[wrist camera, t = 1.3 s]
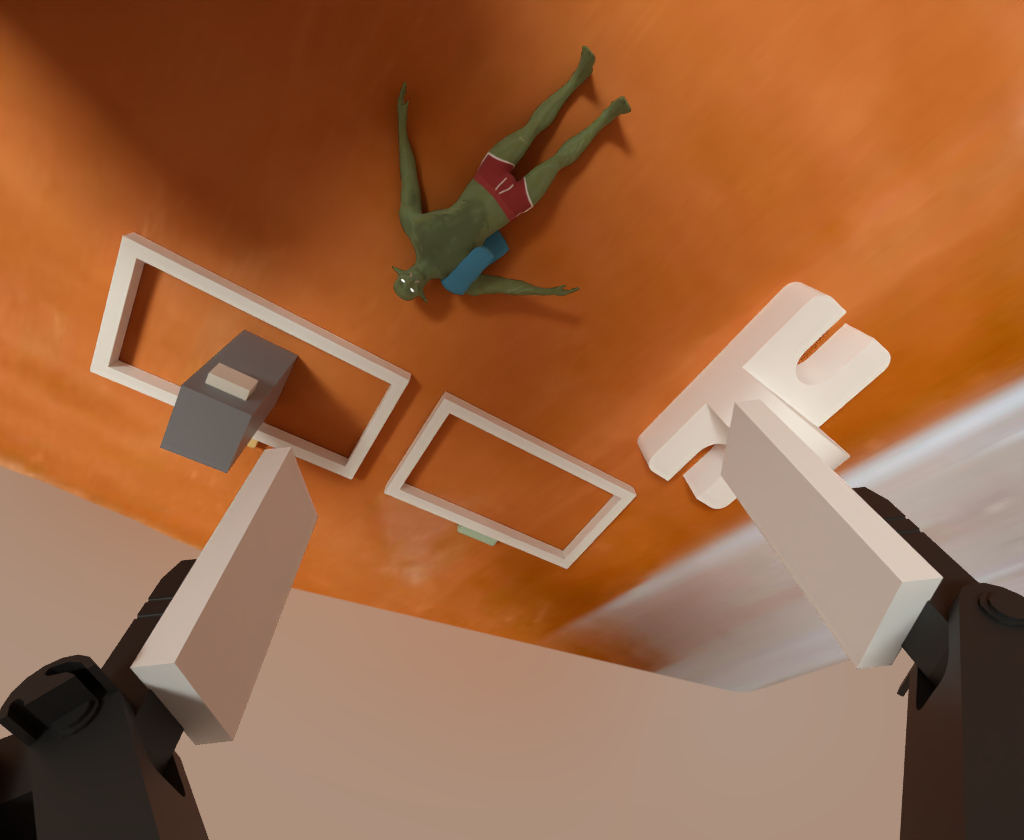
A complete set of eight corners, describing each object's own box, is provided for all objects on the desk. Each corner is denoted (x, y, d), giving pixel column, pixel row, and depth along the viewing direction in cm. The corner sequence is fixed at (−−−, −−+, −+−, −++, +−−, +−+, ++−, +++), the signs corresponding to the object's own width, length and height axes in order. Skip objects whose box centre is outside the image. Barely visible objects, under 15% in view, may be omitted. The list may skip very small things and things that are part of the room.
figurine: (694, 189, 29) (477, 384, 34) (675, 192, 33) (481, 368, 37) (515, -63, 25) (296, 202, 30) (516, -26, 28) (321, 204, 33)
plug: (223, 382, 38) (160, 447, 30) (247, 320, 35) (185, 374, 28) (275, 404, 39) (227, 473, 31) (301, 347, 37) (256, 405, 29)
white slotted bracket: (630, 441, 44) (670, 520, 35) (792, 274, 37) (892, 320, 28) (703, 487, 47) (755, 569, 38) (864, 342, 40) (972, 401, 31)
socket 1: (97, 376, 37) (86, 383, 36) (134, 232, 32) (122, 235, 31) (348, 480, 43) (345, 489, 42) (411, 373, 38) (409, 380, 37)
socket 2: (380, 493, 44) (378, 502, 43) (445, 391, 39) (444, 398, 38) (558, 567, 51) (560, 576, 50) (633, 487, 46) (636, 495, 45)
